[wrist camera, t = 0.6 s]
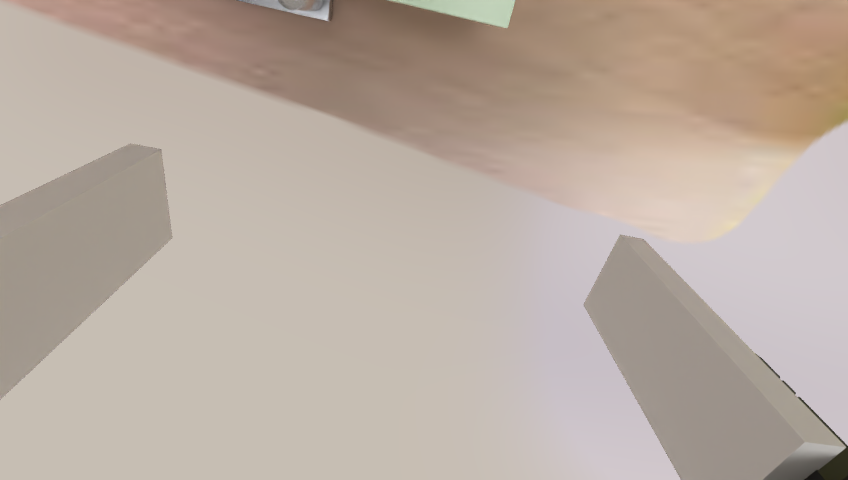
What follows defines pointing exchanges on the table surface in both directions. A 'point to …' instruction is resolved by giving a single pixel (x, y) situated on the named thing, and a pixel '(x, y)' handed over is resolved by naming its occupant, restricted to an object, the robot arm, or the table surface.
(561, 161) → the table surface
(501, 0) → the board
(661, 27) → the table surface
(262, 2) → the chassis
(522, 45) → the table surface
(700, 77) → the table surface
